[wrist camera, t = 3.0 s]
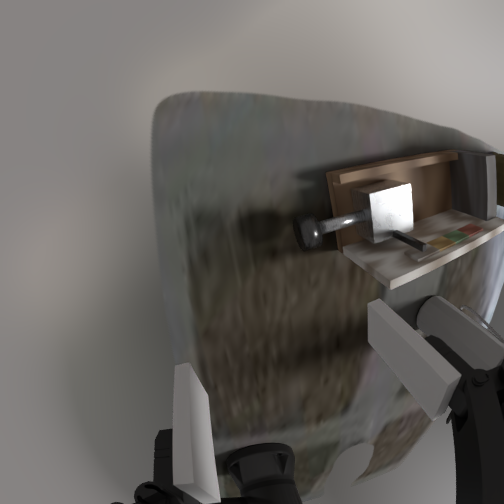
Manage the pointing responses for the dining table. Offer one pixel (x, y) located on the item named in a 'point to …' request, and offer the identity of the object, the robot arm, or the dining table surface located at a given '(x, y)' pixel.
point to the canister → (499, 177)
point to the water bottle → (461, 333)
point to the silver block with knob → (366, 217)
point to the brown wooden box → (422, 211)
